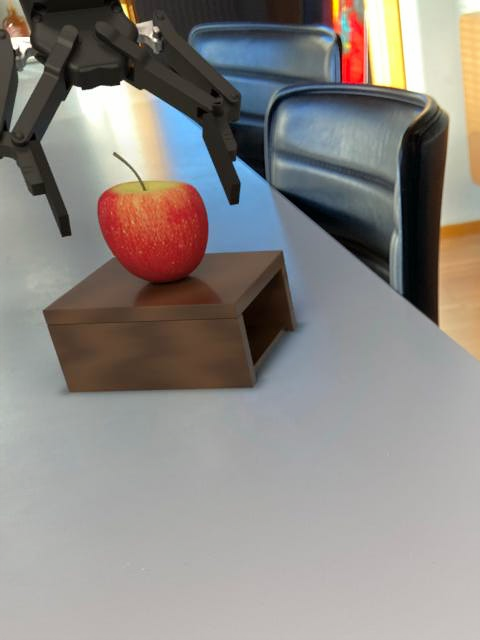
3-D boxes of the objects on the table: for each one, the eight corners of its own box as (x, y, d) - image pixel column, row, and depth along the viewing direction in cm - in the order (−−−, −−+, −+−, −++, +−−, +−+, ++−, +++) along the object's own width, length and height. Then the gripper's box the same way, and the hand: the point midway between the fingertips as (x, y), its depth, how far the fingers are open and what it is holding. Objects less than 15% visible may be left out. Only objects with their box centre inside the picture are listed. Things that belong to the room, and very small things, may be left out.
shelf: (69, 393, 85) (41, 310, 81) (133, 333, 96) (112, 257, 92) (253, 388, 83) (234, 303, 78) (297, 327, 94) (282, 249, 90)
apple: (114, 273, 87) (78, 147, 81) (213, 257, 89) (185, 132, 83) (119, 301, 81) (81, 166, 75) (225, 282, 83) (196, 149, 77)
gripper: (208, -1, 90) (295, 209, 88) (-93, 34, 82) (-4, 268, 80) (212, -75, 83) (306, 152, 81) (-118, -45, 75) (-21, 210, 73)
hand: (153, 210), depth 80 cm, fingers open, 13 cm apart
